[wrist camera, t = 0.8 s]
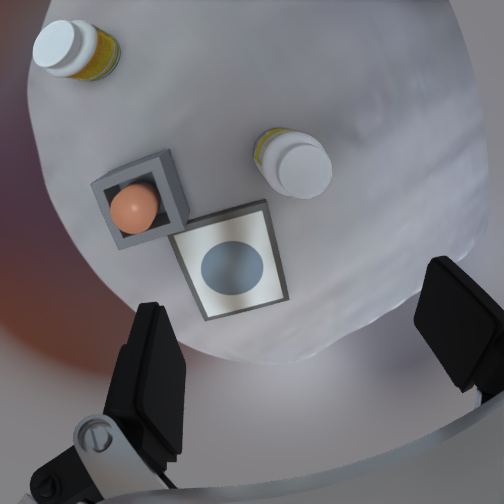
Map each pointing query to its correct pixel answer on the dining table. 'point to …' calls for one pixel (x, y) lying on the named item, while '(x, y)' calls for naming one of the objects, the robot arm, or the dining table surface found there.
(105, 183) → the button housing
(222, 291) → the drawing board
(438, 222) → the dining table surface
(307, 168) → the supplement bottle
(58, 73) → the supplement bottle
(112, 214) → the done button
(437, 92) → the dining table surface
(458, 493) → the robot arm
